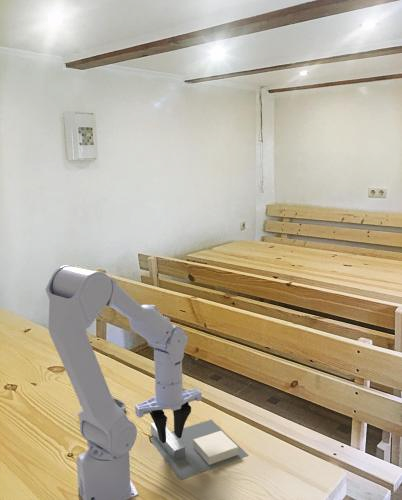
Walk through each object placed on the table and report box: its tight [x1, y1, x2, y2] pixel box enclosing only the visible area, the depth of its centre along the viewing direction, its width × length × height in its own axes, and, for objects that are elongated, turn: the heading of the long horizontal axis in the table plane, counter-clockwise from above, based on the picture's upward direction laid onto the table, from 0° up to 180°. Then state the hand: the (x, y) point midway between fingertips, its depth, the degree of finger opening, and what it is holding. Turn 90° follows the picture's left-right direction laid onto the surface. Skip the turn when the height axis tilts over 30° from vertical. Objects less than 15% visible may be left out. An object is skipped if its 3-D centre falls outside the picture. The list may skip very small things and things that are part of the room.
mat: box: [148, 419, 249, 481], centre depth 99 cm, size 16×16×1 cm
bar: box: [150, 422, 185, 462], centre depth 100 cm, size 2×12×2 cm
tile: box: [193, 431, 238, 465], centre depth 97 cm, size 7×2×7 cm
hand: (170, 438), depth 98 cm, fingers open, 3 cm apart
